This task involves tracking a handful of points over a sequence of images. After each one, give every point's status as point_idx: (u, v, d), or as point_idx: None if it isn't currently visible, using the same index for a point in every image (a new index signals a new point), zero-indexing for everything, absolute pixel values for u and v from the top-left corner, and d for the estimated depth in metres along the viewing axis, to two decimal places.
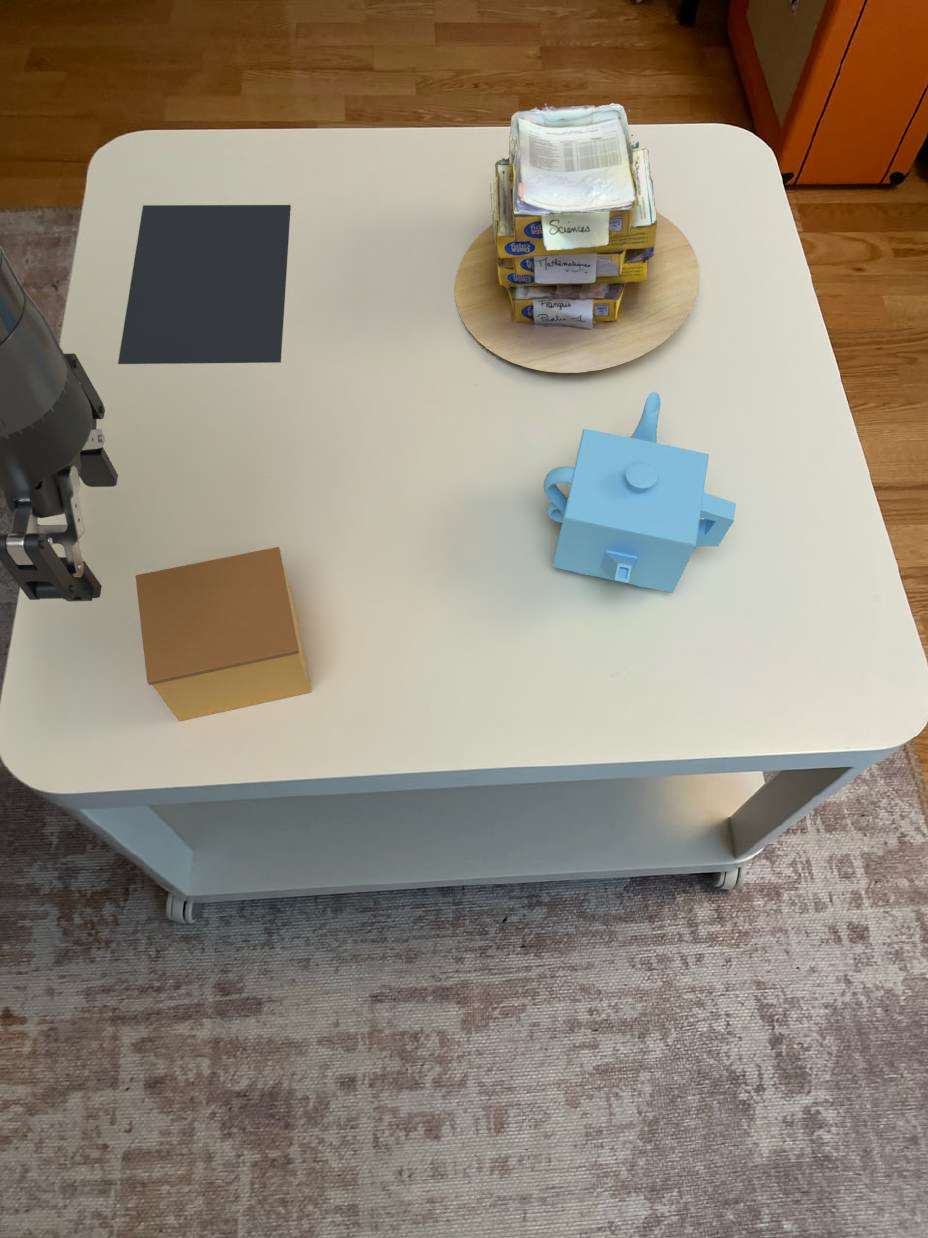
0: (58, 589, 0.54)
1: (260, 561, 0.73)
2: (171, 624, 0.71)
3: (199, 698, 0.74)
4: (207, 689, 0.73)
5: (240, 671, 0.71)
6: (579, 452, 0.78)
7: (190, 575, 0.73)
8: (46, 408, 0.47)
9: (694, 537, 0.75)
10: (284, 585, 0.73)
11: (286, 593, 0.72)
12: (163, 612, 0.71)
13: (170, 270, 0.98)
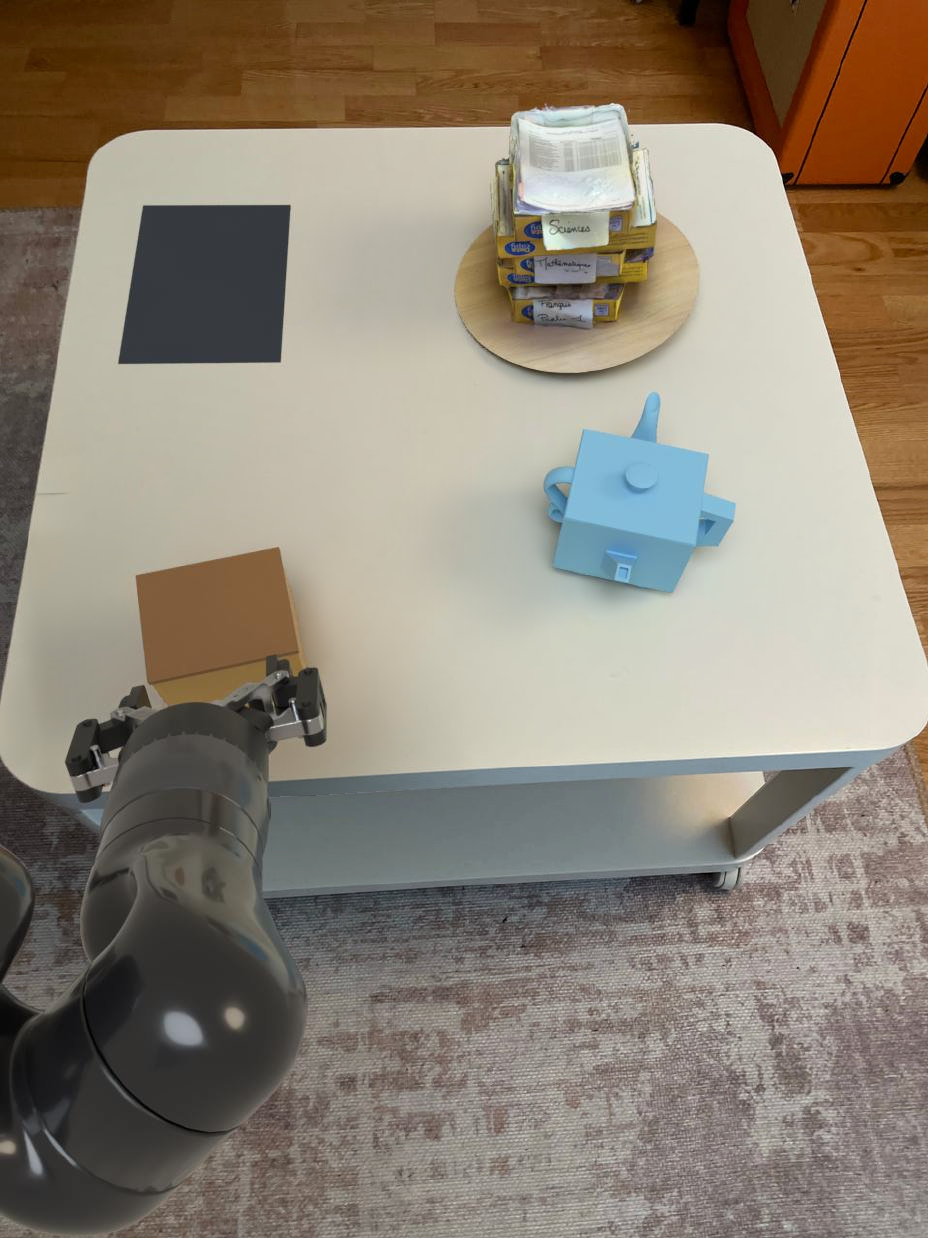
0: None
1: (260, 561, 0.73)
2: (171, 624, 0.71)
3: (199, 698, 0.74)
4: (207, 689, 0.73)
5: (240, 671, 0.71)
6: (579, 452, 0.78)
7: (190, 575, 0.73)
8: None
9: (694, 537, 0.75)
10: (284, 585, 0.73)
11: (286, 593, 0.72)
12: (163, 612, 0.71)
13: (170, 270, 0.98)
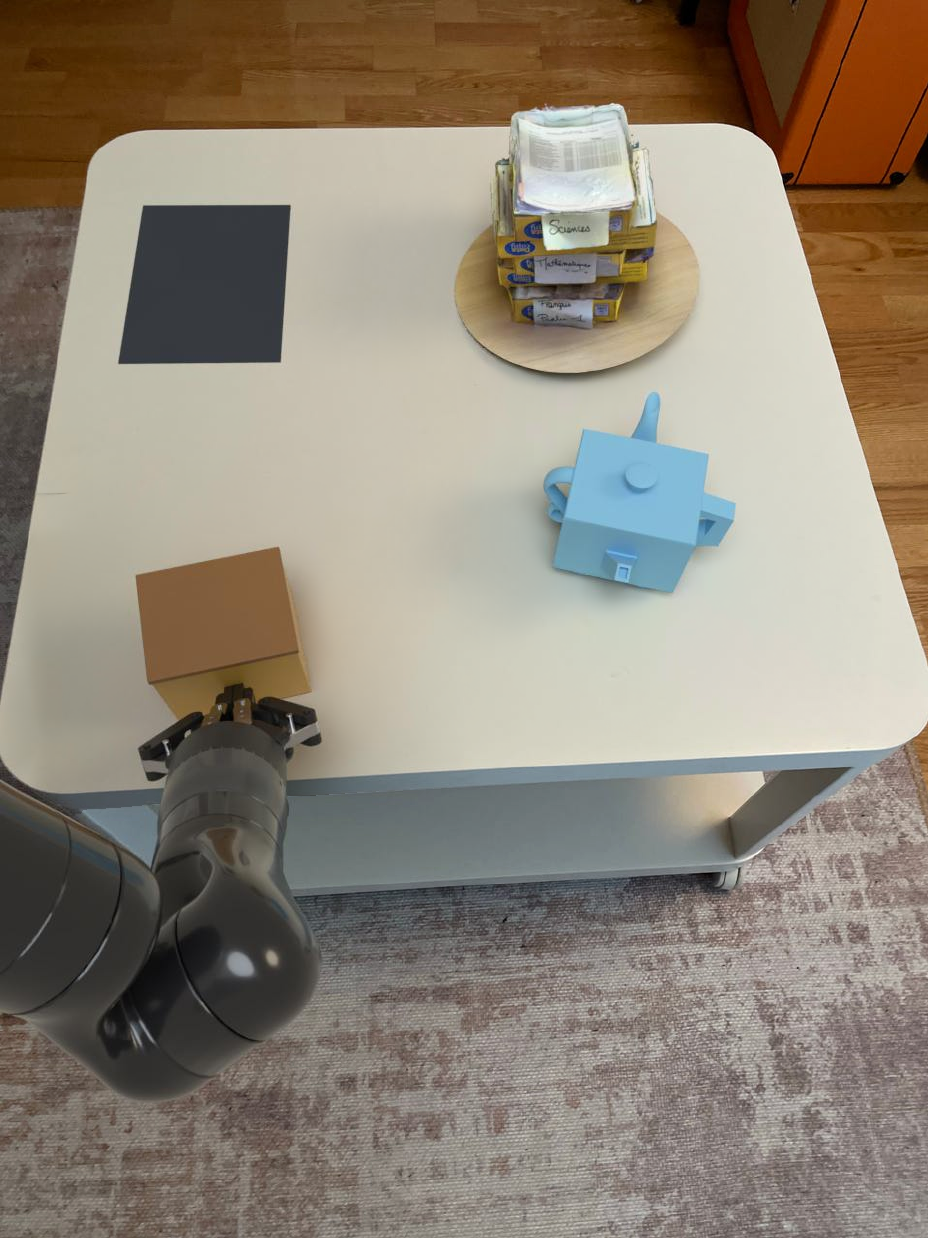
0: None
1: (260, 561, 0.73)
2: (171, 624, 0.71)
3: (199, 698, 0.74)
4: (207, 688, 0.73)
5: (240, 671, 0.71)
6: (579, 452, 0.78)
7: (190, 575, 0.73)
8: None
9: (694, 537, 0.75)
10: (284, 585, 0.73)
11: (286, 593, 0.72)
12: (163, 612, 0.71)
13: (170, 270, 0.98)
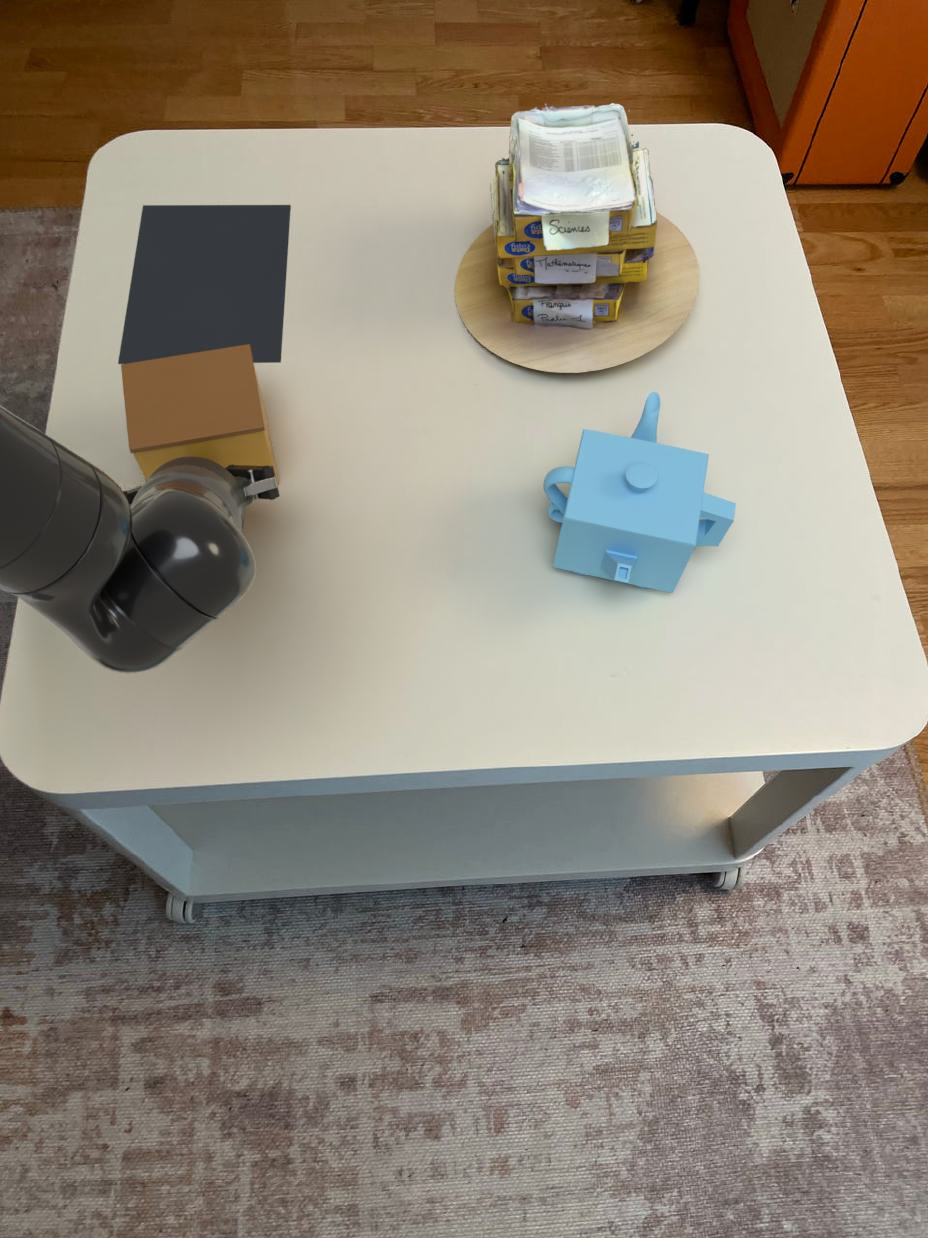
0: None
1: (232, 355, 0.82)
2: (151, 403, 0.80)
3: None
4: None
5: (212, 447, 0.80)
6: (579, 452, 0.78)
7: (170, 365, 0.82)
8: None
9: (694, 537, 0.75)
10: (253, 374, 0.81)
11: (255, 381, 0.81)
12: (144, 394, 0.80)
13: (170, 270, 0.98)
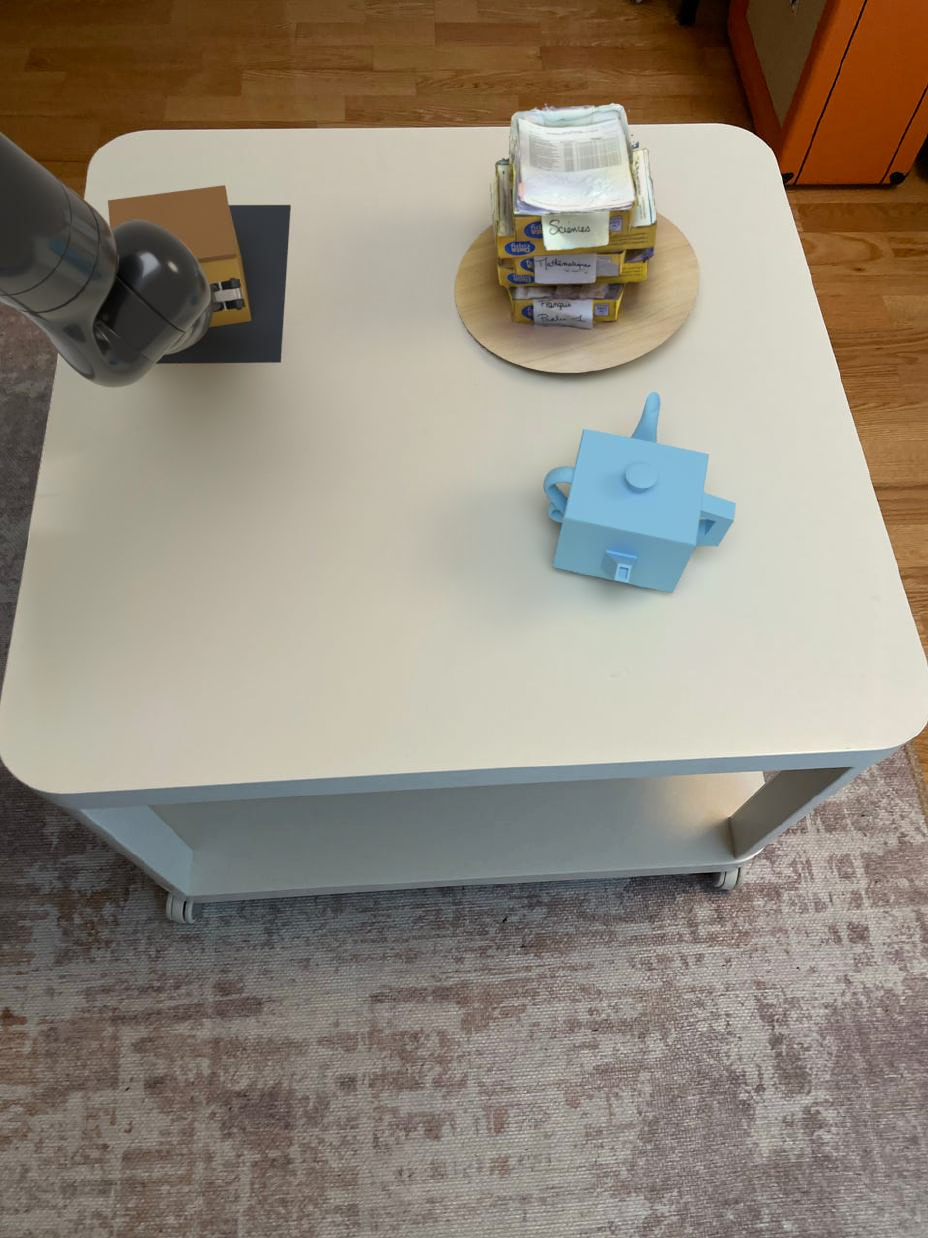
0: None
1: (209, 193, 0.91)
2: None
3: None
4: None
5: None
6: (579, 452, 0.78)
7: (152, 201, 0.90)
8: None
9: (694, 537, 0.75)
10: (227, 210, 0.90)
11: (228, 215, 0.89)
12: None
13: None
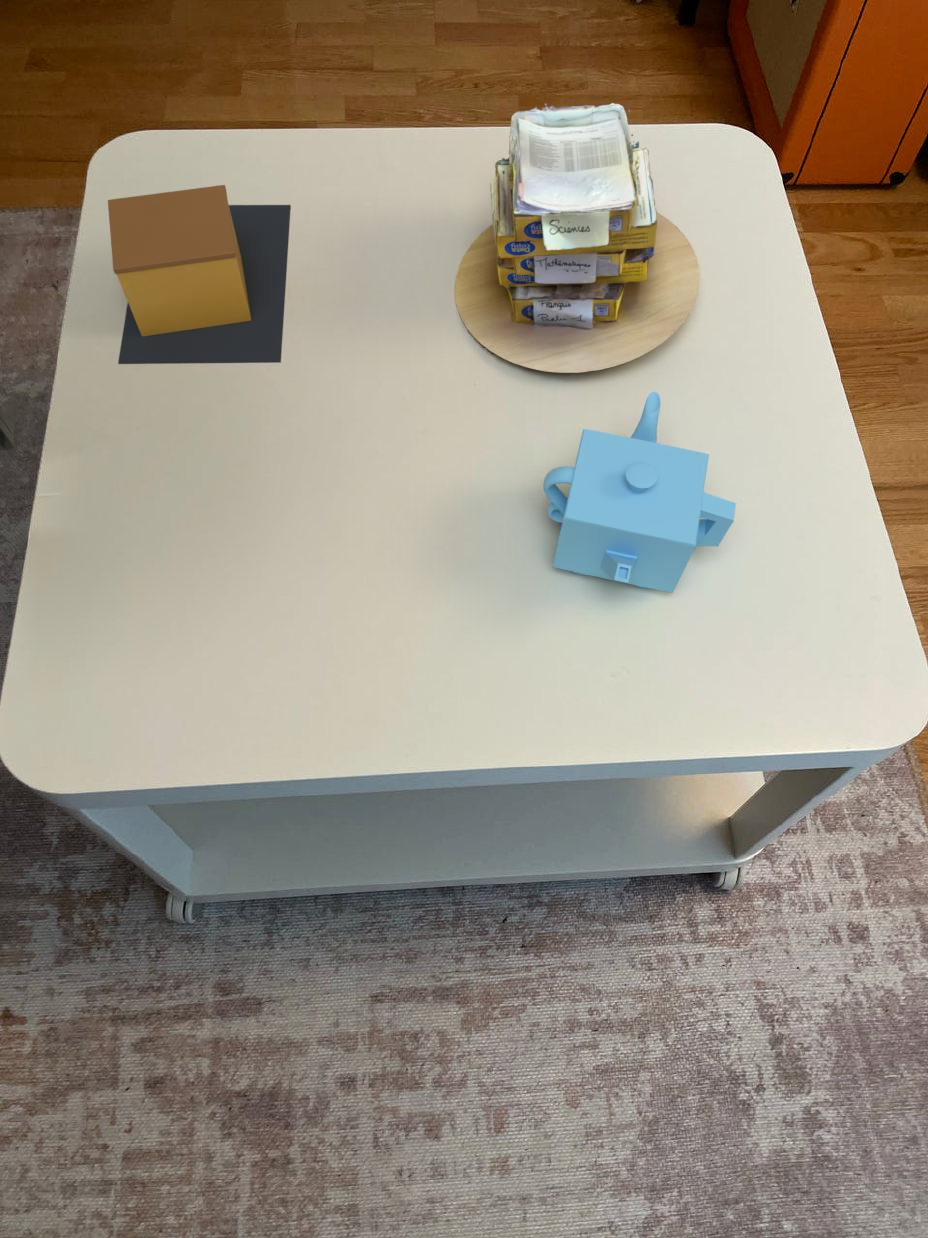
0: None
1: (209, 193, 0.91)
2: (134, 232, 0.88)
3: (157, 305, 0.91)
4: (163, 292, 0.90)
5: (189, 273, 0.89)
6: (579, 452, 0.78)
7: (152, 201, 0.90)
8: None
9: (694, 537, 0.75)
10: (227, 209, 0.90)
11: (228, 215, 0.90)
12: (128, 224, 0.89)
13: None
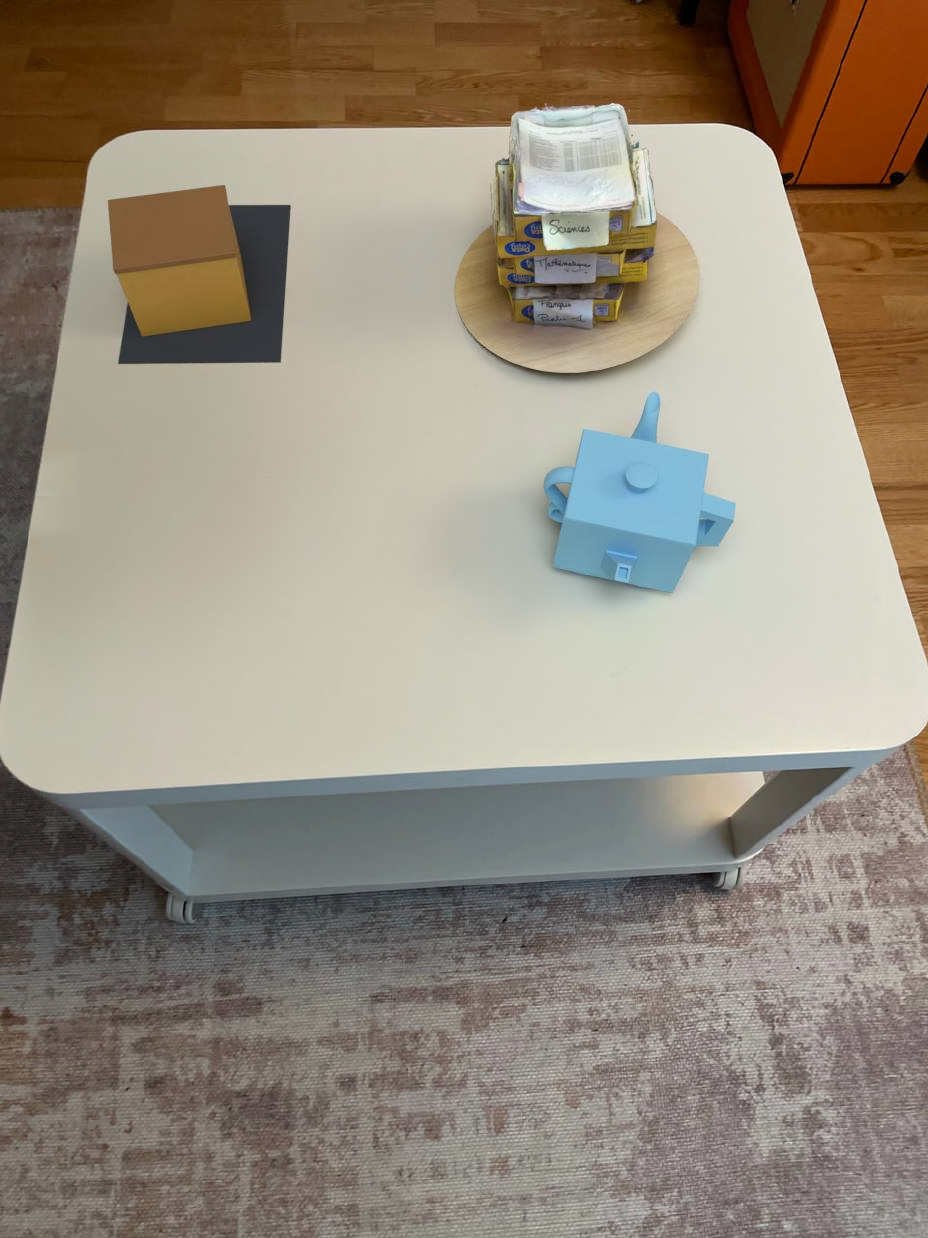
0: None
1: (209, 193, 0.91)
2: (134, 232, 0.88)
3: (157, 305, 0.91)
4: (163, 292, 0.90)
5: (189, 273, 0.89)
6: (579, 452, 0.78)
7: (152, 201, 0.90)
8: None
9: (694, 537, 0.75)
10: (227, 209, 0.90)
11: (228, 215, 0.90)
12: (128, 224, 0.89)
13: None
